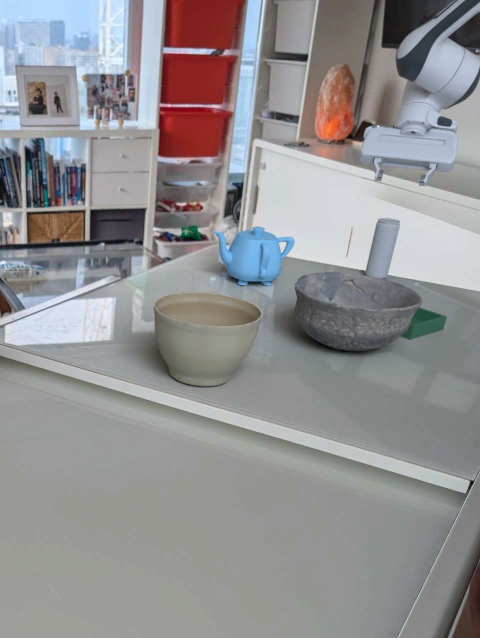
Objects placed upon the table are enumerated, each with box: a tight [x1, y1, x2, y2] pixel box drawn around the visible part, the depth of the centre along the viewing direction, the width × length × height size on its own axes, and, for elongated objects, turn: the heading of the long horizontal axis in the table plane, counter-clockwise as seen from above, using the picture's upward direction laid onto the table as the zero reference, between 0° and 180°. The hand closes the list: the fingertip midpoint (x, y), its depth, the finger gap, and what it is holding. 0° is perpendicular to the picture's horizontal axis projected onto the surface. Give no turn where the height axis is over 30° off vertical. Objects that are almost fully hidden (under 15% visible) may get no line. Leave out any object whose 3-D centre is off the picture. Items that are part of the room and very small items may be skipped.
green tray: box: [400, 306, 448, 340], centre depth 141 cm, size 10×10×2 cm
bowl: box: [294, 271, 423, 352], centre depth 129 cm, size 21×21×10 cm
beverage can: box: [364, 217, 401, 280], centre depth 165 cm, size 5×5×12 cm
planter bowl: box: [153, 291, 264, 387], centre depth 116 cm, size 16×16×11 cm
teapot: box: [211, 226, 296, 286], centre depth 159 cm, size 13×14×11 cm
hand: (400, 181), depth 167 cm, fingers open, 8 cm apart
